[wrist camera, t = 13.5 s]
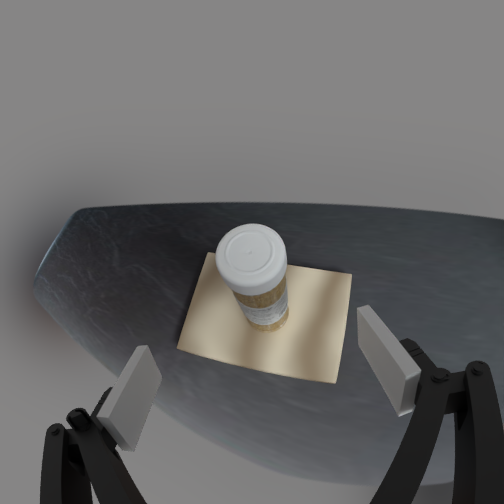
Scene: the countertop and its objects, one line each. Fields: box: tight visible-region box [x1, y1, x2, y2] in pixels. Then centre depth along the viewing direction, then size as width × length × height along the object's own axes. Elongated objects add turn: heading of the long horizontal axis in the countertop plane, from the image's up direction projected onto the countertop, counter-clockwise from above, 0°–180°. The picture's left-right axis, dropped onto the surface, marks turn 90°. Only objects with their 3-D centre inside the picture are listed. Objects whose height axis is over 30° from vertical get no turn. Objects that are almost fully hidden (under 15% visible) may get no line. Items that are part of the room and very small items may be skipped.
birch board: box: [177, 252, 352, 384], centre depth 30 cm, size 17×12×2 cm
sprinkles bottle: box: [215, 224, 289, 333], centre depth 24 cm, size 5×5×13 cm
